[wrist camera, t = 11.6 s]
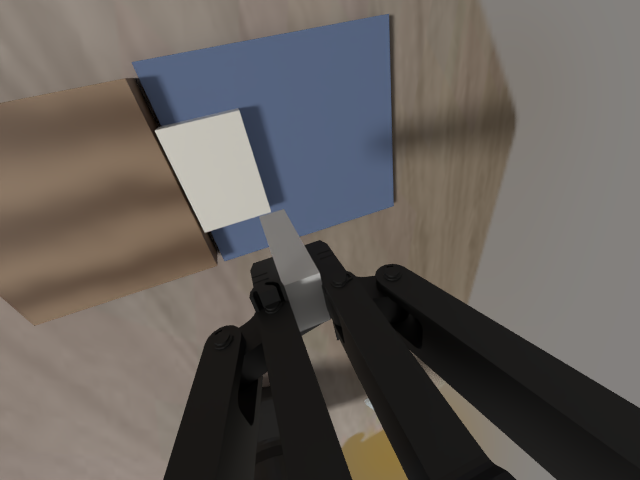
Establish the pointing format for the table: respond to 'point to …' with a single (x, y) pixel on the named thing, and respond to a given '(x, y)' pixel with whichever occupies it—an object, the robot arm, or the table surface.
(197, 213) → the tile
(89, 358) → the table surface
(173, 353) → the table surface
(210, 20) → the table surface
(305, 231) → the mat
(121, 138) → the brown board
